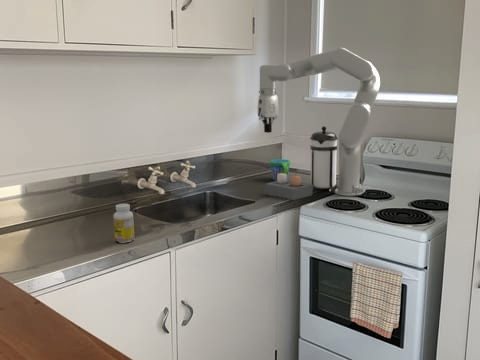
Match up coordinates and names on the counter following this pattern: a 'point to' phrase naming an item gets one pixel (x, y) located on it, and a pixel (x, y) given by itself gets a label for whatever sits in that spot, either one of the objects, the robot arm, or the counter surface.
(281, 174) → the plug
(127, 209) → the supplement bottle
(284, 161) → the snack cup
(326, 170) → the coffee press
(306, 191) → the block
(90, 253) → the counter surface
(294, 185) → the terracotta plug
